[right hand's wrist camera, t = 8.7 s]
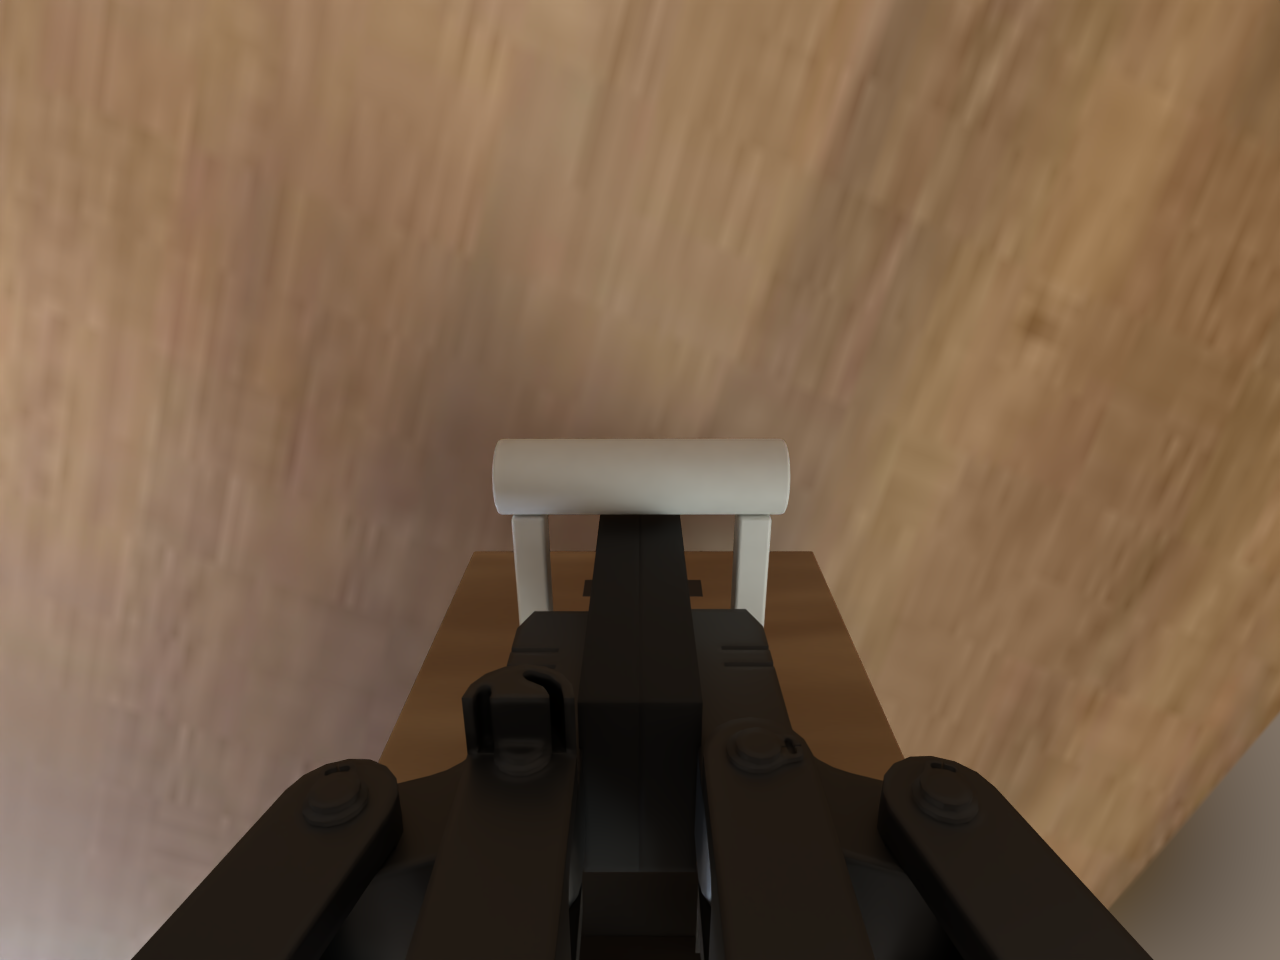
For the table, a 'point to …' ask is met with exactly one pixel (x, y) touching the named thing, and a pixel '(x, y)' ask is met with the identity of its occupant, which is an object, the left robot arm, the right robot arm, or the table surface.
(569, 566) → the drawer
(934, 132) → the table surface
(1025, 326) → the table surface
